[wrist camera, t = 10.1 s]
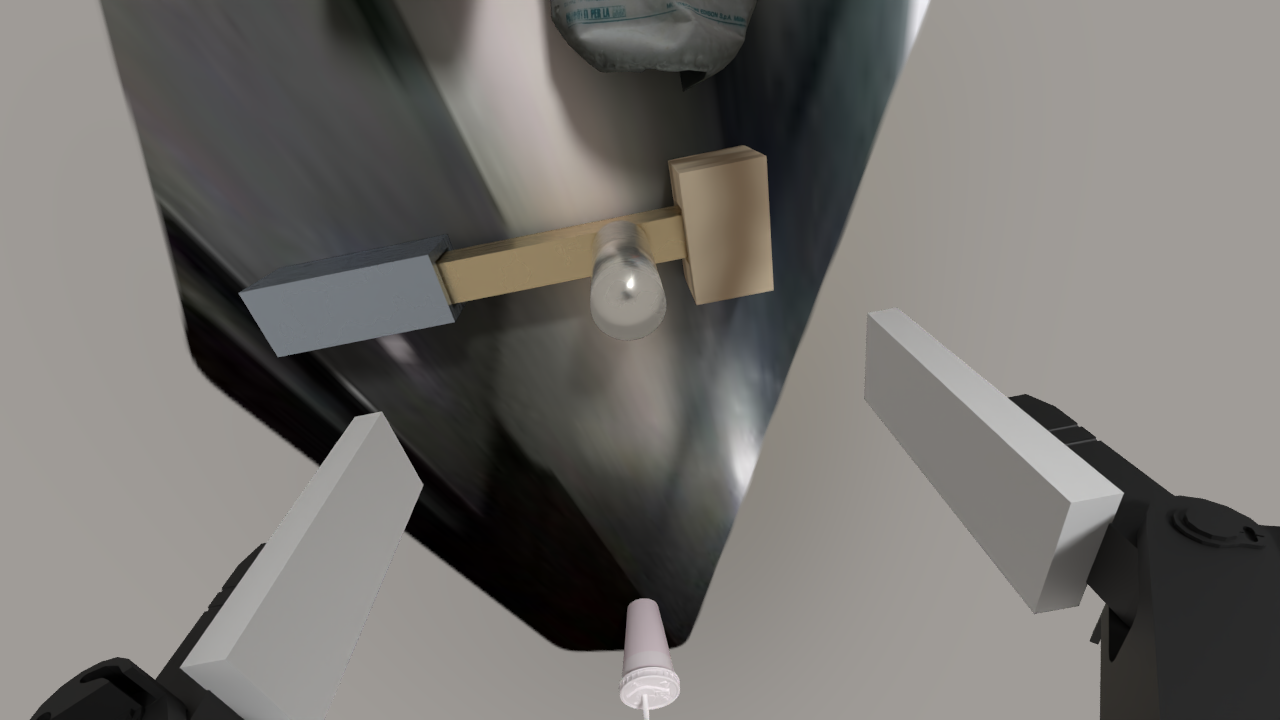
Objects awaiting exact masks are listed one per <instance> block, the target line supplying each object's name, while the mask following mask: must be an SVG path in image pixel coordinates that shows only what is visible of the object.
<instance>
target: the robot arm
mask: <svg viewBox="0 0 1280 720" xmlns="http://www.w3.org/2000/svg"><path fill="white" fill-rule="evenodd" d="M866 337H867V338H866V362H865V390H864V399H865V400H866V402H867V403H868V404H869V406H870V407H871V408H872V409H873V410H874V412H875V413H876V414H877V416H878V417H879V418H880V419H881V421H882V422H883V423H884V424H885V426H886V427H887V428H888V430H889V431H890V432H891V433H892V435H893V436H894V437H895V438H896V440H897V441H898V442H899V443H900V445H901V446H902V447H903V448H904V450H905V451H906V452H907V454H908V455H909V456H910V457H911V459H912V460H913V461H914V463H915V464H916V465H917V466H918V468H919V469H920V470H921V471H922V473H923V474H924V475H925V476H926V478H927V479H928V480H929V481H930V483H931V484H932V485H933V487H934V488H935V489H936V490H937V492H938V493H939V494H940V495H941V497H942V498H943V499H944V500H945V502H946V503H947V504H948V505H949V507H950V508H951V509H952V511H953V512H954V513H955V514H956V515H957V517H958V518H959V519H960V521H961V522H962V523H963V525H964V526H965V527H966V528H967V530H968V531H969V532H970V533H971V535H972V536H973V537H974V538H975V540H976V541H977V542H978V543H979V545H980V546H981V547H982V549H983V550H984V551H985V552H986V554H987V555H988V556H989V557H990V559H991V560H992V561H993V563H994V564H995V565H996V566H997V568H998V569H999V570H1000V571H1001V573H1002V574H1003V575H1004V576H1005V578H1006V579H1007V580H1008V582H1009V583H1010V584H1011V585H1012V587H1013V588H1014V589H1015V590H1016V591H1017V593H1018V594H1019V595H1020V597H1021V598H1022V599H1023V601H1024V602H1025V603H1026V604H1027V605H1028V607H1029V608H1030V609H1031V611H1032V612H1033V613H1034V614H1037V613H1042V612H1048V611H1053V610H1059V609H1065V608H1071V607H1076V606H1079V604H1080V601H1081V599H1082V596H1083V594H1084V591H1085V589H1086V587H1087V584H1088V585H1089V586H1090V587H1091V588H1092V589H1093V590H1094V591H1095V592H1096V593H1097V594H1098V595H1099V596H1100V598H1101V599H1102V600H1103V601H1104V602H1105V603H1106V604H1105V606H1104V609H1103V611H1102V613H1101V615H1100V618H1099V620H1098V623H1097V624H1096V627H1095V629H1094V631H1093V634H1092V636H1091V639H1090V642H1093V643H1096V644H1099V641H1100V639H1101V682H1100V685H1101V686H1100V720H1280V527H1279V526H1264V525H1258V524H1257V523H1256V522H1254V521H1253V520H1252V519H1251V518H1249V517H1247V516H1245V515H1243V514H1241V513H1239V512H1237V511H1235V510H1233V509H1231V508H1229V507H1227V506H1224V505H1220V504H1218V503H1215V502H1211V501H1208V500H1205V499H1201V498H1193V497H1186V496H1174V495H1173V494H1171V493H1170V492H1168V491H1167V490H1166V489H1164V488H1163V487H1162V486H1160V485H1159V484H1158V483H1156V482H1155V481H1154V480H1152V479H1151V478H1149V477H1148V476H1147V475H1145V474H1144V473H1143V472H1142V471H1140V470H1139V469H1138V468H1136V467H1135V466H1134V465H1132V464H1131V463H1130V462H1128V461H1127V460H1126V459H1124V458H1123V457H1122V456H1120V455H1119V454H1118V453H1116V452H1115V451H1114V450H1112V449H1111V448H1110V447H1108V446H1107V445H1106V444H1104V443H1103V442H1102V441H1097V440H1096V437H1095V436H1094V435H1092V434H1091V433H1090V432H1088V431H1087V430H1086V429H1084V428H1083V427H1078V425H1077V423H1076V422H1075V421H1074V420H1072V419H1071V418H1070V417H1068V416H1067V415H1066V414H1064V413H1063V412H1062V411H1060V410H1059V409H1058V408H1056V407H1055V406H1053V405H1050V404H1048V403H1046V402H1043V401H1041V400H1039V399H1036V398H1034V397H1032V396H1029V395H1027V394H1024V395H1019V396H1014V397H1008V398H1007V397H1006V396H1005V395H1003V394H1002V393H1001V392H1000V391H999V390H997V389H996V388H995V387H994V386H993V385H991V384H990V383H989V382H988V381H986V380H985V379H984V378H983V377H982V376H980V375H979V374H978V373H977V372H975V371H974V370H973V369H972V368H970V367H969V366H968V365H967V364H966V363H964V362H963V361H962V360H961V359H960V358H958V357H957V356H956V355H954V354H953V353H952V352H951V351H950V350H949V349H947V348H946V347H945V346H944V345H942V344H941V343H940V342H939V341H937V340H936V339H935V338H934V337H933V336H931V335H930V334H929V333H928V332H927V331H925V330H924V329H923V328H921V327H920V326H919V325H918V324H917V323H915V322H914V321H913V320H912V319H911V318H909V317H908V316H907V315H906V314H904V313H903V312H902V311H901V310H900V309H898V308H897V307H896V308H891V309H886V310H881V311H876V312H871V313H867V335H866ZM422 487H423V484H422V482H421V480H420V478H419V477H418V475H417V473H416V471H415V469H414V468H413V466H412V464H411V462H410V460H409V459H408V457H407V455H406V453H405V452H404V450H403V448H402V446H401V444H400V443H399V441H398V439H397V437H396V436H395V434H394V432H393V430H392V428H391V427H390V425H389V423H388V421H387V420H386V418H385V416H384V414H383V412H377V413H372V414H367V415H362V416H357V417H354V419H353V420H352V422H351V423H350V425H349V426H348V427H347V429H346V430H345V432H344V433H343V435H342V436H341V437H340V439H339V440H338V442H337V443H336V445H335V446H334V447H333V449H332V450H331V452H330V453H329V455H328V456H327V458H326V459H325V460H324V462H323V463H322V465H321V466H320V468H319V469H318V471H317V472H316V473H315V475H314V476H313V478H312V479H311V480H310V482H309V483H308V485H307V486H306V488H305V489H304V491H303V492H302V493H301V495H300V496H299V498H298V499H297V501H296V502H295V503H294V505H293V506H292V508H291V509H290V511H289V512H288V513H287V515H286V516H285V518H284V519H283V520H282V522H281V523H280V525H279V526H278V528H277V529H276V531H275V532H274V533H273V535H272V536H271V538H270V539H269V541H268V542H267V543H263V544H261V545H260V546H259V547H257V549H255V550H254V551H253V552H252V553H251V554H250V555H249V556H248V557H247V558H246V559H245V560H244V561H242V562H241V563H240V564H239V565H238V566H237V568H236V569H235V571H234V572H233V573H232V575H231V576H230V577H229V579H228V580H227V582H226V583H225V584H224V586H223V587H222V592H219V593H218V594H217V595H216V597H215V598H214V600H213V601H212V602H211V604H210V605H209V607H208V608H209V610H208V611H206V612H204V613H203V615H202V616H201V617H200V619H199V620H198V622H197V623H196V624H195V626H194V627H193V629H192V630H191V631H190V633H189V634H188V635H187V637H186V638H185V640H184V641H183V642H182V644H181V645H180V647H179V648H178V649H177V651H176V652H175V653H174V655H173V656H172V658H171V659H170V660H169V662H168V663H167V665H166V666H165V667H164V669H163V670H162V671H161V673H160V674H159V675H158V677H157V678H156V680H154V679H153V678H152V677H151V676H149V675H148V674H147V673H145V672H144V671H143V670H142V669H140V668H139V667H138V666H137V665H135V664H134V663H133V662H132V661H130V660H129V659H126V658H119V657H117V658H113V659H110V660H106V661H102V662H100V663H98V664H96V665H94V666H92V667H91V668H88V669H87V670H85V671H83V672H81V673H80V674H79V675H77V676H75V677H74V678H73V679H71V680H70V681H68V682H67V683H66V684H64V685H63V686H62V687H60V688H59V689H58V690H57V691H56V692H55V693H54V694H53V695H52V696H51V697H50V698H49V699H47V700H46V701H45V702H44V703H43V704H42V705H41V706H40V708H39V709H38V710H37V711H36V713H35V714H34V715H33V716H32V718H31V719H30V720H324V719H325V717H326V714H327V712H328V710H329V707H330V705H331V703H332V700H333V698H334V696H335V693H336V691H337V688H338V686H339V683H340V681H341V679H342V677H343V674H344V672H345V670H346V667H347V665H348V662H349V660H350V657H351V655H352V653H353V650H354V648H355V646H356V643H357V641H358V639H359V636H360V634H361V632H362V629H363V627H364V624H365V622H366V620H367V617H368V615H369V613H370V610H371V608H372V606H373V603H374V601H375V598H376V596H377V594H378V591H379V589H380V587H381V584H382V582H383V579H384V577H385V575H386V572H387V570H388V568H389V565H390V563H391V561H392V558H393V556H394V553H395V551H396V549H397V546H398V544H399V542H400V539H401V537H402V535H403V532H404V530H405V527H406V525H407V523H408V520H409V518H410V516H411V513H412V511H413V508H414V506H415V504H416V501H417V499H418V497H419V494H420V492H421V490H422Z"/></svg>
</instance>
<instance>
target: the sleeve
mask: <svg viewBox="0 0 1280 720" xmlns="http://www.w3.org/2000/svg"><path fill="white" fill-rule="evenodd" d="M452 250H453V248H452V245H451V242H450V240H449V237H448V234H446V235H441V236H436V237H431V238H426V239H421V240H416V241H411V242H406V243H401V244H396V245H391V246H386V247H382V248H377V249H372V250H367V251H362V252H357V253H352V254H347V255H342V256H337V257H332V258H327V259H322V260H317V261H312V262H307V263H302V264H297V265H292V266H288V267H283V268H279V269H277V270H275V271H274V272H272V273H270V274H269V275H267V276H266V277H264V278H262V279H261V280H259V281H257V282H256V283H254V284H252V285H251V286H249V287H247V288H246V289H244V290H242V291H241V292H239V295H240V296H241V298H242V300H243V301H244V303H245V304H246V306H247V308H248V309H249V311H250V313H251V314H252V316H253V317H254V319H255V321H256V322H257V324H258V326H259V327H260V329H261V330H262V332H263V334H264V335H265V337H266V339H267V340H268V342H269V343H270V345H271V347H272V348H273V350H274V352H275V353H276V355H277V356H278V357H281V356H286V355H292V354H297V353H302V352H307V351H312V350H317V349H322V348H327V347H332V346H337V345H342V344H347V343H352V342H357V341H362V340H367V339H373V338H378V337H383V336H388V335H393V334H398V333H403V332H408V331H413V330H418V329H423V328H428V327H433V326H438V325H443V324H448V323H454V322H455V321H456V320H457V318H458V316H459V314H460V313H461V311H462V309H463V308H464V306H465V304H466V302H467V301H465V302H460V303H455V304H452V303H451V301H450V298H449V296H448V293H447V291H446V288H445V286H444V283H443V281H442V278H441V276H440V273H439V270H438V268H437V265H436V263H435V261H436V260H437V259H438V257H439V256H440V255H441V254H442V253H443V252H447V251H452Z"/></svg>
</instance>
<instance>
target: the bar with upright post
mask: <svg viewBox="0 0 1280 720" xmlns="http://www.w3.org/2000/svg"><path fill="white" fill-rule="evenodd" d="M687 257H688V252H687V245H686V238H685V231H684V224H683V216H682V210H681V208H680V206H679V205H675V206H670V207H665V208H660V209H655V210H651V211H646V212H641V213H636V214H631V215H626V216H621V217H616V218H611V219H606V220H601V221H596V222H591V223H586V224H581V225H576V226H571V227H566V228H561V229H556V230H551V231H546V232H541V233H536V234H531V235H526V236H521V237H516V238H511V239H506V240H501V241H496V242H492V243H487V244H482V245H477V246H472V247H467V248H462V249H457V250H452V251H447V252H443V253H442V254H441V255H440V256H439V257H438V259H437V260H436V261H435V263H436V265H437V268H438V270H439V273H440V276H441V278H442V281H443V283H444V286H445V288H446V291H447V293H448V296H449V298H450V301H451V303H452V304H455V303H460V302H465V301H470V300H475V299H480V298H486V297H491V296H496V295H501V294H506V293H511V292H516V291H521V290H526V289H531V288H536V287H541V286H546V285H551V284H556V283H561V282H566V281H571V280H576V279H581V278H586V277H591V297H590V310H591V315H592V318H593V320H594V322H595V323H596V325H597V326H598V327H599V329H600V330H601V331H603V332H604V333H605V334H607V335H608V336H610V337H613V338H616V339H619V340H636V339H640V338H643V337H645V336H647V335H649V334H650V333H652V332H653V331H654V330H655V329H656V328H657V327H658V326H659V325H660V323H661V322H662V320H663V318H664V316H665V313H666V306H667V303H666V296H665V293H664V289H663V286H662V283H661V279H660V276H659V273H658V270H657V266H656V264H657V263H662V262H667V261H672V260H677V259H682V258H687Z"/></svg>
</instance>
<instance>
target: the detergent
mask: <svg viewBox="0 0 1280 720" xmlns="http://www.w3.org/2000/svg"><path fill="white" fill-rule="evenodd" d="M550 1H551V15H552V21H553V22H554V24H555V26H556V27H557V29H558V30H559V32H560V33H561V35H562V37H563V38H564V39H565V40H566V41H567V43H568V45H570V46H571V47H572V48H573V49H574V50H575V51H576V52H577V53H578V54H579V55H580V56H581V57H582V58H583V59H584V60H586V61H587V62H588V63H589V64H590V65H592V66H593V67H595V68H596V69H597V70H599V71H600V72H624V71H631V72H638V73H641V72H642V71H644V70H645V69H658V70H661V71H671V72H678V71H680V75H681V82H682V88H683V92H684V91H685V90H687V89H689V88H691V87H693V86H694V85H696V84H698V83H700V82H702V81H704V80H705V79H707V78H709V77H711V76H713V75H714V74H716V73H718V72H719V71H720V70H722V69H724V68H725V67H726V66H727V65H728V64H729V63H730V62H731V61H732V60H733V59H734V58H735V56H736V55H737V53H738V51H739V49H740V48H741V46H742V45H743V43H744V41H745V35H746V30H747V27H748V25H749V22H750V19H751V16H752V13H753V11H754V8H755V6H756V3H757V0H550Z"/></svg>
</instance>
